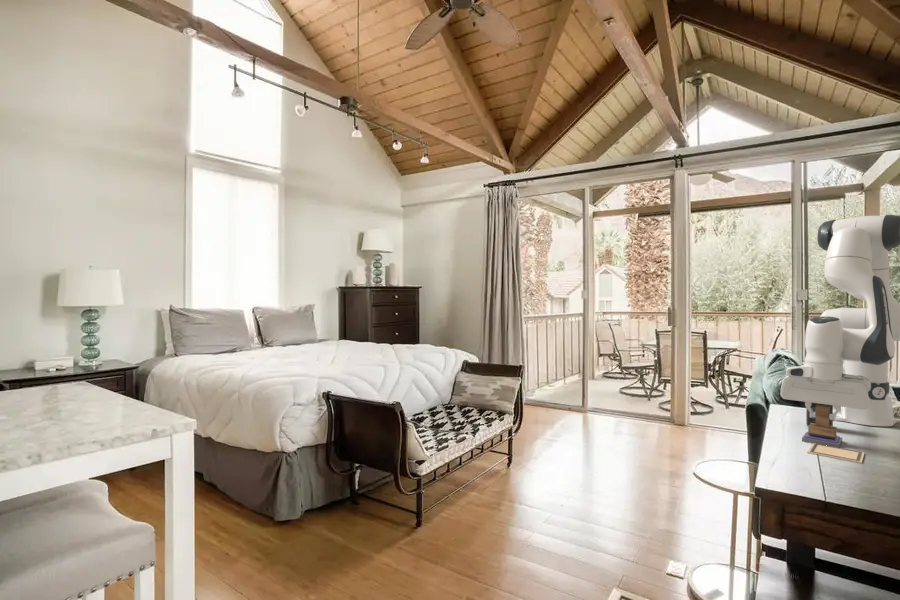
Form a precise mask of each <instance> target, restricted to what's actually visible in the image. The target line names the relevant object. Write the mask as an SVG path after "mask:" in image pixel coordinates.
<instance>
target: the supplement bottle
mask: <svg viewBox="0 0 900 600" xmlns="http://www.w3.org/2000/svg"><path fill="white" fill-rule="evenodd" d="M817 404H818V403H812V405H811V406H810V407H811V408H812V410H813V411H815V412H816V405H817ZM819 405H826V404H819ZM826 406H830V414H833V405H826ZM805 410H806V412H805V413H806V414H805V418H806V421H805V424H806V426H807V427H808V426H809V424H810V423H815V418H810V412H809V411H808V409H807V408H805ZM830 426H834V421H830Z"/></svg>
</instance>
